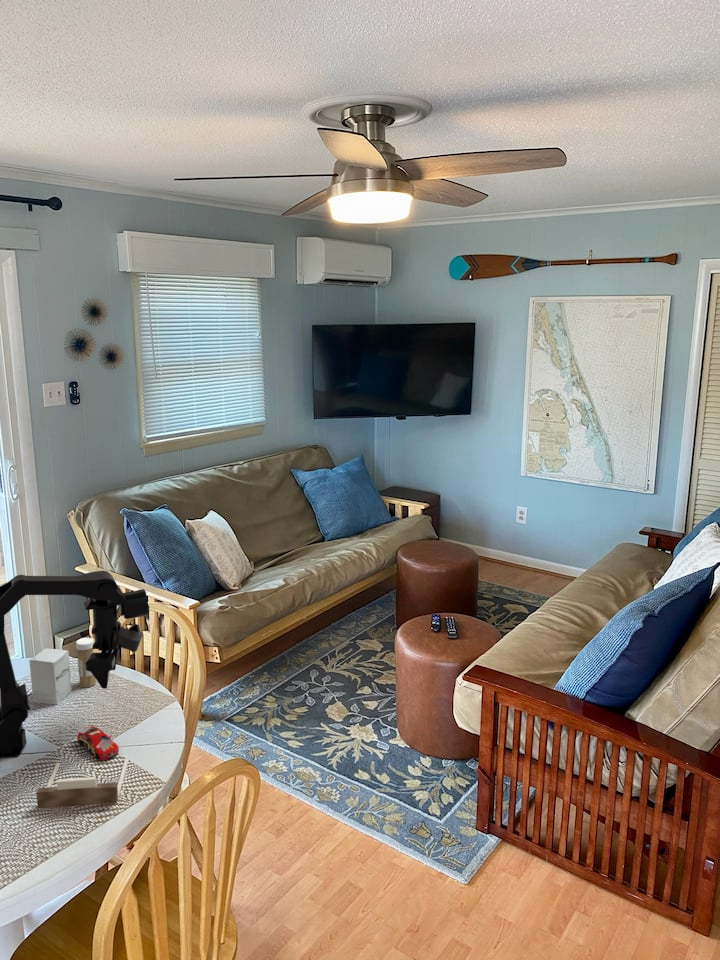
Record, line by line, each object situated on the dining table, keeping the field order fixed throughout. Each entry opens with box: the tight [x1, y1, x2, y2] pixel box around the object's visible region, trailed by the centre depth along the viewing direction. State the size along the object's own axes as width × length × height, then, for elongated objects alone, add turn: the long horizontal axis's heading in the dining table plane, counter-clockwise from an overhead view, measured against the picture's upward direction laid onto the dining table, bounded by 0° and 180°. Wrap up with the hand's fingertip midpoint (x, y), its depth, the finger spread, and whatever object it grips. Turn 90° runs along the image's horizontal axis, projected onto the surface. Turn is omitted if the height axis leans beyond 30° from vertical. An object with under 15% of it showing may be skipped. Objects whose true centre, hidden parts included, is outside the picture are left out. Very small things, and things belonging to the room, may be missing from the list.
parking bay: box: [36, 757, 130, 809], centre depth 164 cm, size 16×16×6 cm
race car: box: [77, 725, 120, 762], centre depth 177 cm, size 13×5×4 cm, turn 47°
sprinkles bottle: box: [75, 637, 97, 688], centre depth 205 cm, size 5×5×13 cm
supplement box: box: [29, 647, 72, 706], centre depth 198 cm, size 7×7×13 cm
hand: (108, 678), depth 184 cm, fingers open, 9 cm apart
